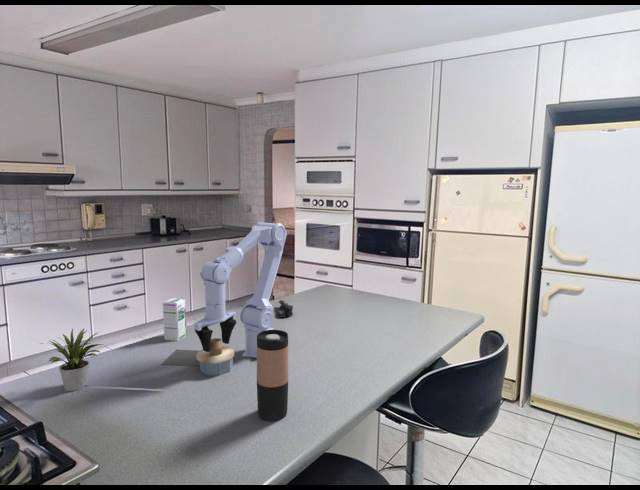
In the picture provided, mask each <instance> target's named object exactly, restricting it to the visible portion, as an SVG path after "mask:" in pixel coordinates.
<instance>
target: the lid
mask: <svg viewBox="0 0 640 490" xmlns="http://www.w3.org/2000/svg"><path fill="white" fill-rule="evenodd" d="M222 344H223V342H222V338H211V342H210V352H206V351H203V349H200V350H199V352H198V353H197V360H198V361H200V362H203V363H209V364H214V363H222V362H225V361H228V360H230V359H232V358H233V359H234V357H235V351H234V349H233V348H231V347H228V346H223V345H222Z"/></svg>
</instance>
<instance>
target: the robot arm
mask: <svg viewBox="0 0 640 490" xmlns="http://www.w3.org/2000/svg"><path fill="white" fill-rule="evenodd" d="M287 236H288V233H287V231H286V227H285V226H284V225H283V224H282V223H279V222H278V223H274V222H273V223H271V222H263V221H258V222H257V223H256V224H255V225H253V226H252V227H251V231H250V232H249V233H247V235H246V236H245V237H243V238H242V240H240V242H239V243H238V244H236V246H227V247H226V248H224V249H225V250H224V251H223V252H222V253H221V254H219V255H218V257H217V256H216V257H214V259H213V261H208V262H207V263H205V264H204V265H203V266H202V268H201V272H199V274H200V275H199V276H200V277H201V279H202V281H203V286H204V292H205V293H204V296H205V301H204V302H205V315H204V317H203V318H201V319H200V320H198V321H196V322H194V324H193V325H194V326H193V327H194V328H193V329H194V333H195V334H196V335H197V337H198V339H199V341H200V345H201V348H202V350H203V351H206V352H210V342H211V339H212V335H213V332H214V330H213V329H210V328H209V327H211V326H215V325H217V324H219V326H220V331H221V340H222V344H226V345H228V344H230V340H231V336H232V333H233V330H234V328H235V326H236V325H237V319H235V318H237V317H236V316H237V315H236V314H237V312H236V311H233V310H228V311H226V282H228V280H229V277H230V275H231V273H232V271H233V270H235V268H236V267H237V266H238V265H240V264H241V262H242V261H244V255H245V254H247V253H248V252H249V251H250V250H252V249H254V247H256V246H257V245H258V244H260V246H261V247H262V248H263V249H264V250H265V255H264V259H263V261H262V266H261V268H260V272H259V275H258V278H257V282H256V286H255V288H254V291H253V296H252V297H250V298H249V299H248V300H246V302H245V304H244V307H243V308H242V309H241V310H240V313H239V320H240V322H241V323H242V324H243V327H244V328H245V329H244V330H245V331H244V332H245V333H244V335H245V338H244V339H245V340H244V341H245V343H244V344H245V350H244V352H243V353H242V354H241V356H242V357H250V358H256V359H257V334H258V333H260V332H262V331H266V330H275V328H274V327H271V324H272V321H273V311H274V307H273V305H272V303H270V302H271V301H270V298H271V295H272V291H273V289H274V288H273V287H274V284H275V280H276V278H277V277H276V276H277V274H278V270H279V266H280V263H281V260H282V255H283V253H284V248H285V243H286V239H287Z"/></svg>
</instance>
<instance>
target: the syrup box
mask: <svg viewBox="0 0 640 490" xmlns="http://www.w3.org/2000/svg"><path fill="white" fill-rule="evenodd" d="M186 308H187V307H186V299H185V298H180V297H179V298H177V297H176V298H175V297H174V298H170V299H167V300H166V301H163V302H162V314H163V315H162V317H163V333H164V335H163V337H164V340H165V341H166V340H167V341H174V342H175V341H176V342H179V341H181V340H182V339H184V338H186V337H187V334H188V333H187V331H188V330H187V313H186V310H187V309H186Z"/></svg>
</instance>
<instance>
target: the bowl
mask: <svg viewBox="0 0 640 490" xmlns="http://www.w3.org/2000/svg"><path fill="white" fill-rule="evenodd" d="M233 367H234V357H233V358H232V359H230V360H228V361H225V362H222V363H214V364H209V363H203V362H200V365H199V371H200V372H201V373H202V374H203V375H205V376H214V377H215V376H217V377H218V376H222V375H225V374H228V373H230V372H231V371H232V370H233Z"/></svg>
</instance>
